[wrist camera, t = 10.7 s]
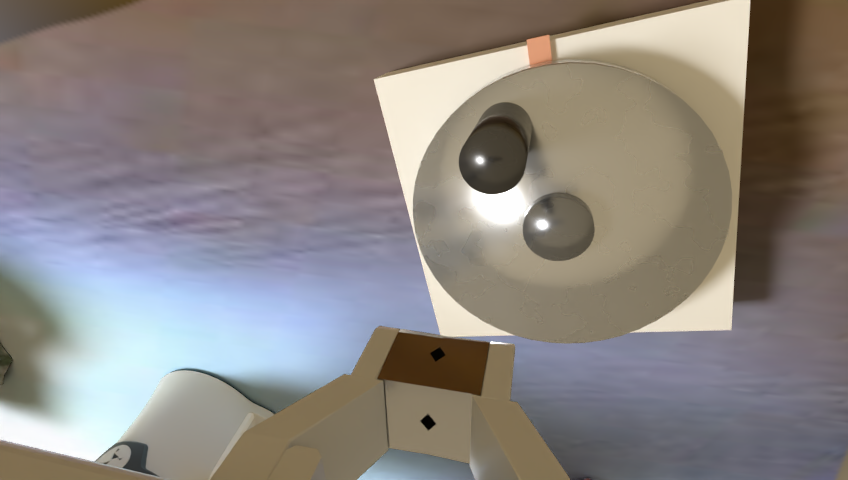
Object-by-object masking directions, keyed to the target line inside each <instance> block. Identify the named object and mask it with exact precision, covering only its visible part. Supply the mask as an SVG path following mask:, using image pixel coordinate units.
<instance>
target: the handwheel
mask: <svg viewBox="0 0 848 480" xmlns="http://www.w3.org/2000/svg"><path fill="white" fill-rule="evenodd" d="M731 214H732V188H731V181H730V175H729V170H728V167H727V164H726V161H725V158H724V155H723V152H722V150H721V148H720V146H719V144H718V142H717V141H716V139H715V137H714V135H713V133H712V132H711V130H710V129H709V128H708V126H707V125H706V124H705V122H704V121H703V120H702V119H701V117H700V116H699V115H698V114H697V113H696V112H695V111H694V110H693V109H692V108H691V107H690V106H689V105H688V104H687V103H686V102H684V101H683V100H682V99H681V98H680V97H679V96H678V95H677V94H675V93H674V92H673V91H671V90H670V89H668V88H667V87H666V86H664V85H663V84H661V83H660V82H658V81H657V80H655V79H653V78H651V77H649V76H647V75H645V74H643V73H641V72H639V71H637V70H634V69H631V68H628V67H624V66H621V65H618V64H615V63H610V62H604V61H598V60H591V59H563V60H553V61H545V62H541V63H537V64H533V65H528V66H525V67H522V68H519V69H517V70H514V71H512V72H509V73H506V74H504V75H502V76H500V77H499V78H497V79H495V80H493V81H491V82H489V83H487V84H486V85H484V86H483V87H482V88H480V89H479V90H477V91H476V92H475V93H473V94H472V95H471V96H469V97H468V98H467V99H466V100H465V101H464V102H463V103H462V104H461V105H460V106H459V107H458V108H457V109H456V110H455V111H454V112H453V113H452V114H451V115H450V117H449V118H448V119H447V120H446V122H445V123H444V124H443V125H442V126H441V128H440V129H439V130H438V131H437V133H436V134H435V136H434V138H433V139H432V141H431V143H430V144H429V146H428V148H427V150H426V152H425V154H424V157H423V159H422V161H421V163H420V166H419V170H418V173H417V177H416V181H415V186H414V194H413V220H414V227H415V233H416V237H417V240H418V244H419V247H420V250H421V252H422V255H423V257H424V259H425V262H426V264H427V265H428V267H429V269H430V270H431V272H432V274H433V275H434V277H435V278H436V280H437V281H438V282H439V284H440V285H441V286H442V288H443V289H444V290H445V291H446V292H447V293H448V294H449V295H450V296H451V297H452V298H453V299H454V300H455V301H456V302H457V303H458V304H459V305H461V306H462V307H463V308H464V309H465V310H467V311H468V312H469V313H471V314H472V315H474V316H475V317H477V318H479V319H480V320H482V321H483V322H485V323H487V324H489V325H491V326H493V327H495V328H497V329H500V330H502V331H505V332H508V333H510V334H513V335H516V336H520V337H524V338H527V339H531V340H537V341H544V342H552V343H586V342H593V341H601V340H606V339H610V338H614V337H618V336H622V335H624V334H627V333H630V332H633V331H636V330H638V329H641V328H643V327H645V326H647V325H649V324H651V323H653V322H655V321H657V320H658V319H660V318H662V317H663V316H665V315H666V314H668V313H669V312H671V311H672V310H674V309H675V308H676V307H677V306H679V305H680V304H681V303H682V302H683V301H685V300H686V299H687V298H688V297H689V296H690V295H691V294H692V293H693V292H694V291H695V290H696V289H697V288H698V287H699V286H700V285H701V283H702V282H703V280H704V279H705V278H706V276H707V275H708V274H709V272H710V271H711V269H712V268H713V266H714V264H715V262H716V260H717V259H718V257H719V255H720V253H721V251H722V248H723V245H724V243H725V240H726V237H727V234H728V230H729V225H730V219H731Z"/></svg>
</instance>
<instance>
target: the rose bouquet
mask: <svg viewBox="0 0 848 480" xmlns="http://www.w3.org/2000/svg"><path fill="white" fill-rule="evenodd" d="M11 361H12V358H11V356H10V355H9V354H8V353H7V352H6V351H5V349H4V348H3V347H2V345H1V344H0V385H2V384H3V380H4V377H3V376H4V374H5V372H6V371H7V369H8V368H9V365H10V364H11Z"/></svg>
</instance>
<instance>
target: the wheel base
mask: <svg viewBox="0 0 848 480" xmlns="http://www.w3.org/2000/svg"><path fill="white" fill-rule="evenodd" d="M749 16H750V0H708V1H703V2H699V3H694V4H690V5H685V6H681V7H676V8H672V9H668V10H663V11H659V12H654V13H650V14H645V15H641V16H636V17H632V18H628V19H623V20H619V21H614V22H610V23H605V24H601V25H596V26H592V27H588V28H583V29H579V30H574V31H570V32H565V33H561V34H556V35H552V36H549V35H544V36H540V37H535V38H531V39H527V41H525V42H521V43H516V44H512V45H508V46H503V47H499V48H494V49H490V50H485V51H481V52H476V53H472V54H468V55H463V56H459V57H454V58H450V59H445V60H441V61H436V62H432V63H428V64H423V65H419V66H414V67H410V68H405V69H401V70H396V71H392V72H388V73H386V74H384V75H382V76H380V77H378V78H376V79H374V82H375V86H376V89H377V93H378V97H379V101H380V105H381V109H382V112H383V116H384V120H385V124H386V128H387V132H388V135H389V139H390V143H391V147H392V151H393V155H394V158H395V162H396V166H397V170H398V174H399V178H400V181H401V185H402V189H403V193H404V197H405V201H406V204H407V208H408V212H409V216H410V220H411V224H412V227H413V231H414V235H415V239H416V243H417V247H418V250H419V254H420V258H421V262H422V266H423V270H424V273H425V277H426V281H427V285H428V289H429V292H430V296H431V300H432V304H433V308H434V312H435V315H436V319H437V323H438V327H439V331H440V335H442V336H448V337H465V336H505V335H513V334H510V333H508V332H505V331H502V330H500V329H497V328H495V327H493V326H491V325H489V324H487V323H485V322H483V321H482V320H480V319H479V318H477V317H475V316H474V315H472V314H471V313H469V312H468V311H467V310H465V309H464V308H463V307H462V306H461V305H459V304H458V303H457V302H456V301H455V300H454V299H453V298H452V297H451V296H450V295H449V294H448V293H447V292H446V291H445V290H444V289H443V288H442V286H441V285H440V284H439V282H438V281H437V280H436V278H435V277H434V275H433V274H432V272H431V270H430V269H429V267H428V265H427V264H426V262H425V259H424V257H423V255H422V252H421V250H420V247H419V244H418V240H417V237H416V233H415V227H414V220H413V194H414V186H415V181H416V177H417V173H418V170H419V166H420V163H421V161H422V159H423V157H424V154H425V152H426V150H427V148H428V146H429V144H430V143H431V141H432V139H433V138H434V136H435V134H436V133H437V131H438V130H439V129H440V128H441V126H442V125H443V124H444V123H445V122H446V120H447V119H448V118H449V117H450V115H451V114H452V113H453V112H454V111H455V110H456V109H457V108H458V107H459V106H460V105H461V104H462V103H463V102H464V101H465V100H466V99H467V98H468V97H469V96H471V95H472V94H473V93H475V92H476V91H477V90H479V89H480V88H482V87H483V86H484V85H486V84H487V83H489V82H491V81H493V80H495V79H497V78H499V77H500V76H502V75H504V74H506V73H509V72H512V71H514V70H517V69H519V68H522V67H525V66H528V65H533V64H537V63H541V62H545V61H553V60H563V59H591V60H598V61H604V62H610V63H615V64H618V65H621V66H624V67H628V68H631V69H634V70H637V71H639V72H641V73H643V74H645V75H647V76H649V77H651V78H653V79H655V80H657V81H658V82H660V83H661V84H663V85H664V86H666V87H667V88H668V89H670V90H671V91H673V92H674V93H675V94H677V95H678V96H679V97H680V98H681V99H682V100H683V101H684V102H686V103H687V104H688V105H689V106H690V107H691V108H692V109H693V110H694V111H695V112H696V113H697V114H698V115H699V116H700V117H701V119H702V120H703V121H704V122H705V124H706V125H707V126H708V128H709V129H710V130H711V132H712V133H713V135H714V137H715V139H716V141H717V142H718V144H719V146H720V148H721V150H722V152H723V155H724V158H725V161H726V164H727V167H728V170H729V175H730V181H731V188H732V214H731V219H730V225H729V230H728V234H727V237H726V240H725V243H724V245H723V248H722V251H721V253H720V255H719V257H718V259H717V260H716V262H715V264H714V266H713V268H712V269H711V271H710V272H709V274H708V275H707V276H706V278H705V279H704V280H703V282H702V283H701V285H700V286H699V287H698V288H697V289H696V290H695V291H694V292H693V293H692V294H691V295H690V296H689V297H688V298H687V299H686V300H685V301H683V302H682V303H681V304H680V305H679V306H677V307H676V308H675V309H674V310H672V311H671V312H669V313H668V314H666V315H665V316H663V317H662V318H660V319H658V320H657V321H655V322H653V323H651V324H649V325H647V326H645V327H643V328H641V329H638V330H636V331H633V332H666V331H706V330H731V325H732V308H733V291H734V274H735V257H736V239H737V222H738V205H739V188H740V171H741V154H742V137H743V119H744V102H745V85H746V68H747V51H748V34H749Z"/></svg>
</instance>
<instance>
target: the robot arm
mask: <svg viewBox="0 0 848 480" xmlns="http://www.w3.org/2000/svg"><path fill="white" fill-rule="evenodd" d="M514 354H515V345H514V344H509V343H500V342H491V343H490V342H486V341H478V340H471V339H463V338H455V337H448V336H442V335H436V334H430V333H424V332H417V331H411V330H405V329H401V330H400V329H397V328H390V327H384V326H379V327H377V328H376V329H375V330H374V332H373V334H372V336H371V338H370V340H369V342H368V343H367V345H366V347H365V349H364V351H363V353H362V355H361V357H360V358H359V360H358V362H357V364H356V366H355V368H354V370H353V372H352V373H351V375H346V374H344V375H342V376H340V377H338V378H337V379H335V380H333V381H332V382H330V383H328V384H326V385H325V386H323V387H321V388H319V389H318V390H316V391H314V392H313V393H311V394H309V395H307V396H306V397H304V398H302V399H300V400H299V401H297V402H295V403H293V404H292V405H290V406H288V407H287V408H285V409H283V410H281V411H280V412H278V413H276V414H274V413H272V412H270V411H269V410H267V409H265V408H263V407H261V406H258V405H256V404H254V403H252V402H251V401H249V400H248V399H247V398H246V397H244V396H243V395H242V394H241V393H239V392H238V391H237V390H235V389H234V388H232V387H231V386H229V385H228V384H226V383H224V382H223V381H221V380H219V379H217V378H214V377H212V376H209V375H207V374H203V373H200V372H195V371H186V370H182V371H174V372H171V373H169V374H167V375H165V376H164V377H163V378H162V379H161V380H160V382H159V384H158V385H157V387H156V389H155V391H154V393H153V394H152V396H151V398H150V399H149V401H148V402H147V404H146V405H145V407H144V408H143V410H142V411H141V412H140V414H139V415H138V417H137V418H136V419H135V421H134V422H133V423H132V424H131V426H130V427H129V428H128V430H127V431H126V432H125V433H124V434H123V436H122V437H121V438H120V439H119V440H118V442H117V443H116V444H114V445H113V446H112V447H111V448H109V449H108V450H107V451H106V452H105V453H104V454H102V455H101V456H100V457H99V458H98V459H97V460H96V461H95V462H93V461H89V460H85V459H81V458H76V457H72V456H68V455H63V454H59V453H55V452H51V451H46V450H42V449H38V448H33V447H29V446H25V445H21V444H16V443H12V442H8V441H3V440H0V480H357V479H358V478H359V477H360V476H361V475H362V474H363V473H364V472H365V471H366V470H367V469H369V468H370V467H371V466H372V465H373V464H374V463H375V462H376V461H377V460H378V459H379V458H380V457H382V456H383V455H384V454H385V453H386V452H387V451H388V448H392V449H398V450H405V451H411V452H417V453H423V454H429V455H433V456H438V457H442V458H447V459H451V460H456V461H460V462H465V463H469V464H470V468H471V470H472V473H473V475H474V478H475V480H570V478H569V477H568V475H567V474H566V472H565V471H564V469H563V468H562V466H561V465H560V464H559V462H558V461H557V459H556V458H555V456H554V455H553V453H552V452H551V450H550V449H549V448H548V446H547V445H546V443H545V442H544V440H543V439H542V437H541V436H540V434H539V433H538V431H537V430H536V429H535V427H534V426H533V424H532V423H531V421H530V420H529V418H528V417H527V415H526V414H525V413H524V411H523V410H522V408H521V407H520V405H519V404H518V403H517V402H512V401H510V397H511V387H512V376H513V365H514Z"/></svg>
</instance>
